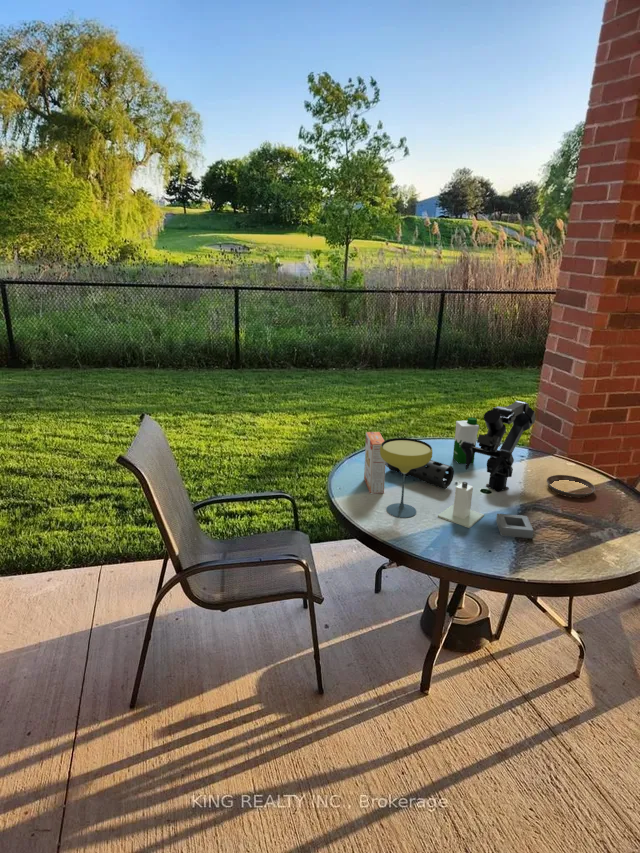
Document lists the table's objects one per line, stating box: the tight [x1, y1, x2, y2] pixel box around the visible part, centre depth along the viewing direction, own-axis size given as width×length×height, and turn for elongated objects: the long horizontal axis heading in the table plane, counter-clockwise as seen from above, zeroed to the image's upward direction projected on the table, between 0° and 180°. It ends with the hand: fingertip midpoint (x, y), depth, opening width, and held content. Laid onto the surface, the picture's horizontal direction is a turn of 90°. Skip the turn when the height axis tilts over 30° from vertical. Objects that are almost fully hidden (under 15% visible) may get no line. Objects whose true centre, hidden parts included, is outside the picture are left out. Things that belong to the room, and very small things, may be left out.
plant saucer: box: [546, 474, 596, 498], centre depth 209 cm, size 18×18×3 cm
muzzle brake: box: [385, 459, 455, 490], centre depth 214 cm, size 10×28×10 cm, turn 47°
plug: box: [453, 481, 474, 519], centre depth 184 cm, size 4×4×12 cm
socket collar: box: [495, 512, 534, 539], centre depth 177 cm, size 10×10×3 cm
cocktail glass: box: [380, 437, 433, 519], centre depth 185 cm, size 18×18×25 cm
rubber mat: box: [437, 503, 485, 529], centre depth 186 cm, size 12×12×1 cm
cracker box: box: [363, 431, 386, 494], centre depth 205 cm, size 14×6×21 cm, turn 5°
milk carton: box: [452, 416, 480, 465], centre depth 233 cm, size 9×9×20 cm
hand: (478, 472), depth 189 cm, fingers open, 9 cm apart
